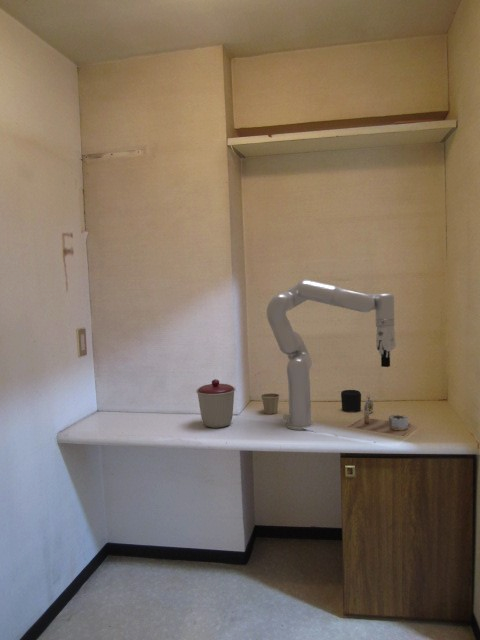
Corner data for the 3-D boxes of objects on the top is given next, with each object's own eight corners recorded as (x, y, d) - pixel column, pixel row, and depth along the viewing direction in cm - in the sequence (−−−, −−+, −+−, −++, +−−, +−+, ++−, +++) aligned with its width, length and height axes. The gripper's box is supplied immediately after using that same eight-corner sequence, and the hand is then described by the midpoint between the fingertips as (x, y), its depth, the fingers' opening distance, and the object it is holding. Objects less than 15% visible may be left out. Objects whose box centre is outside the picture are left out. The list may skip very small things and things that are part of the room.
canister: (242, 420, 230) (240, 376, 228) (229, 431, 213) (227, 384, 211) (206, 418, 236) (204, 375, 234) (191, 429, 219) (189, 383, 217)
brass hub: (387, 429, 203) (387, 421, 203) (393, 425, 209) (393, 417, 208) (403, 431, 199) (403, 423, 199) (409, 427, 205) (408, 419, 204)
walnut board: (348, 429, 209) (348, 426, 209) (363, 420, 222) (363, 417, 222) (403, 438, 195) (403, 435, 195) (416, 428, 207) (416, 425, 207)
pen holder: (337, 412, 236) (337, 392, 235) (349, 408, 242) (348, 388, 241) (353, 416, 229) (353, 395, 228) (365, 412, 235) (364, 391, 234)
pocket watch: (383, 419, 221) (383, 397, 221) (364, 419, 223) (364, 397, 222) (382, 414, 229) (382, 393, 229) (363, 414, 231) (363, 393, 230)
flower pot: (261, 410, 246) (260, 393, 245) (279, 409, 246) (279, 392, 245) (261, 415, 237) (260, 397, 236) (280, 414, 236) (280, 397, 236)
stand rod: (363, 423, 212) (363, 411, 212) (365, 422, 214) (365, 410, 214) (367, 424, 211) (367, 412, 211) (369, 423, 213) (369, 411, 212)
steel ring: (393, 429, 200) (393, 420, 200) (386, 424, 207) (386, 415, 207) (410, 428, 201) (410, 418, 201) (402, 423, 208) (402, 414, 208)
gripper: (387, 325, 195) (387, 370, 197) (400, 321, 207) (400, 364, 209) (369, 324, 200) (370, 368, 201) (383, 321, 212) (383, 363, 213)
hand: (385, 366), depth 205 cm, fingers closed
